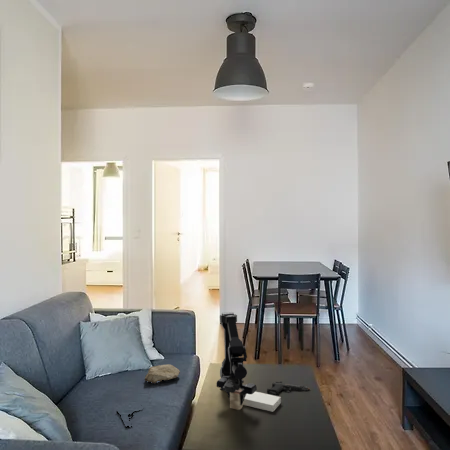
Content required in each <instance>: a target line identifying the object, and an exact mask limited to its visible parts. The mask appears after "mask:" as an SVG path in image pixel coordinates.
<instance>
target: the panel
mask: <svg viewBox="0 0 450 450" xmlns="http://www.w3.org/2000/svg"><path fill="white" fill-rule="evenodd" d="M281 398H282V397H281V396H279V395H275V396H274V395H269V394H267V393H264V392H260V391H255V392H254V393H253V394H246V396H245V399H244V401H243V406H248V407H252V408H255V409H258V410H259V409H260V410H263V411H267V412H275V410H276V409H277V408H278V407H279V406H280V405H281V404H282V403H281V402H282V399H281Z"/></svg>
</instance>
